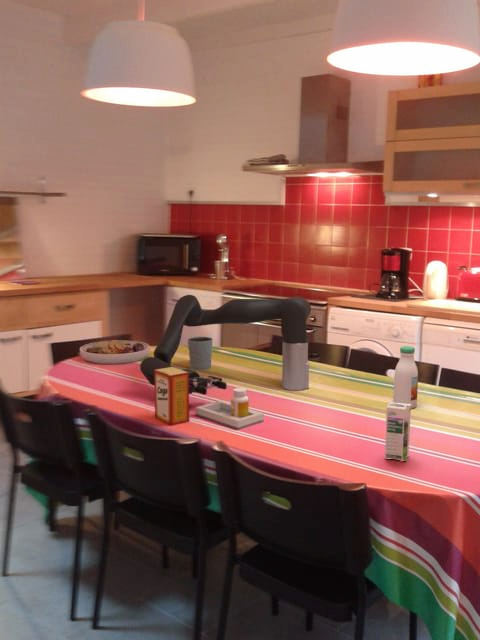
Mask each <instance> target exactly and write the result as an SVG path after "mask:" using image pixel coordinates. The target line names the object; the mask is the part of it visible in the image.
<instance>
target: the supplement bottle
mask: <svg viewBox="0 0 480 640" xmlns="http://www.w3.org/2000/svg"><path fill="white" fill-rule="evenodd" d="M232 394H233V395H232V396H231V397H230V398H231V400H230V403H231V416H235V417H238V418H243V417H246V416H249V409H250V408H249V396H247V389H246V388H242V387H237V388H233V391H232Z"/></svg>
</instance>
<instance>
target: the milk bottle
mask: <svg viewBox="0 0 480 640" xmlns="http://www.w3.org/2000/svg"><path fill="white" fill-rule="evenodd" d="M415 349H416V348H415V347H414V346H409V345H408V346H406V345H404V346H401V347H400V349H399V351H400V352H399V353H400V357H399V360H398V362H397V364H396V366H395V370H394V376H393V397H392V398H393V400H392V402H393V403H403V404H411V409H414V408H417V406H418V404H417V403H418V386H419V372H418V366H417V363H416V362H415V358H414V356H415V351H416V350H415Z"/></svg>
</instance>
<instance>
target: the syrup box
mask: <svg viewBox="0 0 480 640" xmlns="http://www.w3.org/2000/svg"><path fill="white" fill-rule="evenodd" d="M411 409H412V408H411V404H403V403H393V401H391V402H389V403H388V404H387V407H386V415H385V416H386V418H385V445H384V448H385V449H384V458H385V457H386V458H391V459H397V460H404V461H406V460H407V461H408V458H407V457H409V455H408V454H410V453H409V452H410V437H411V435H410V434H411V433H410V432H411V411H412V410H411ZM407 461H406V462H407Z"/></svg>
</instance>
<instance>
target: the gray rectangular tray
mask: <svg viewBox="0 0 480 640" xmlns="http://www.w3.org/2000/svg"><path fill="white" fill-rule="evenodd" d="M195 416H197V417H200V418H203V419H206V420H207V421H211V422H215V423H218V424H220V425H224V426H226V427H229V428H232V429H235V430H241V429H244V428H247V427H251V426H253V425H257V424H259V423H260V424H261V423H263V422H264V412H260V411H257V410H254V409H250V408H249V416H246V417H243V418H238V417H235V416H231V402H227V401H224V400H219V401H215V402H211V403H208V404H203V405H199V406H196V407H195Z"/></svg>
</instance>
